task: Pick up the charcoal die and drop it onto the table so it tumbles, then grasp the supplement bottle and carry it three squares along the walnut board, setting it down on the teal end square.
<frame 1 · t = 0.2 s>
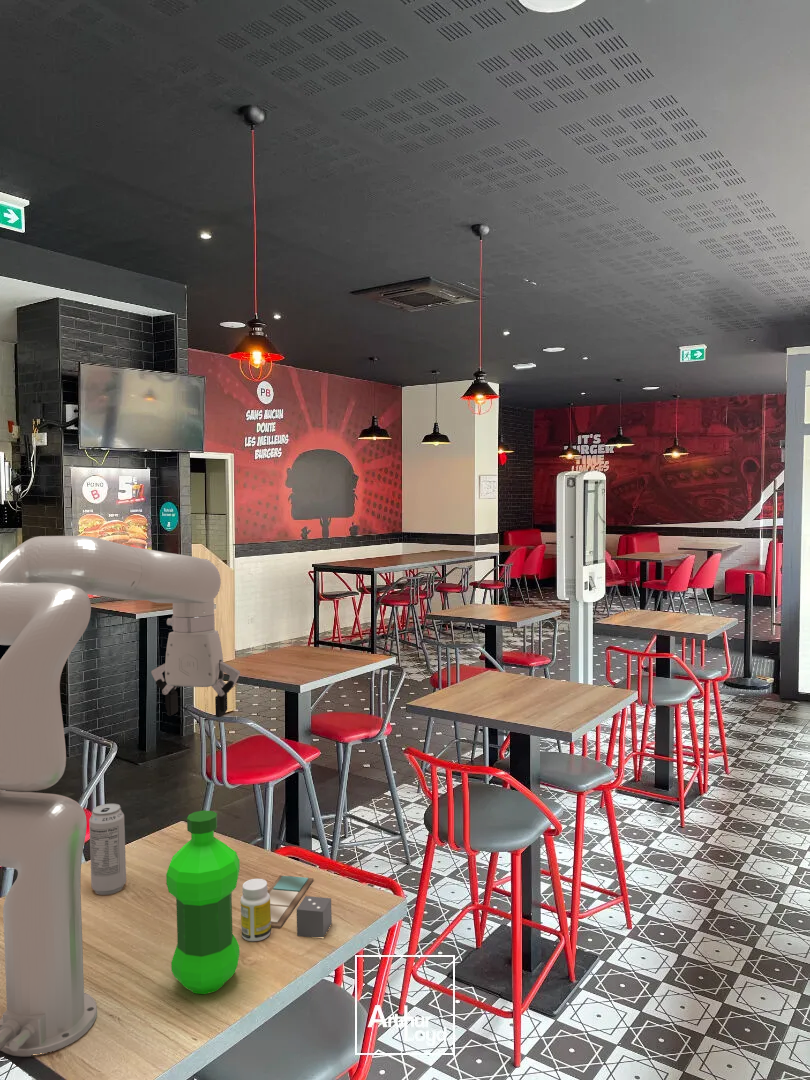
hand: (196, 714, 150), 31 cm above the table, fingers open, 9 cm apart
supplement bottle: (256, 935, 130), on the table
plastic bottle: (206, 984, 117), on the table
energy drink can: (109, 889, 147), on the table
board: (280, 901, 141), on the table
die: (314, 930, 131), on the table
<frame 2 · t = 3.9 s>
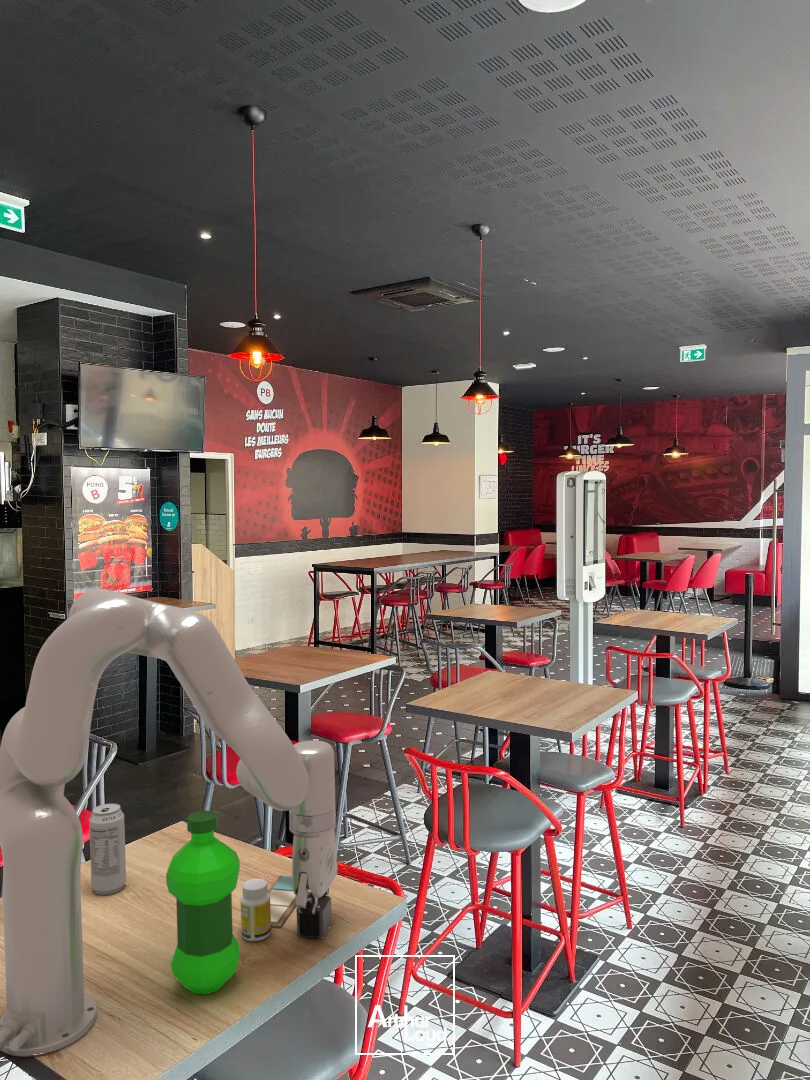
hand: (314, 926, 131), 1 cm above the table, fingers closed on die, 4 cm apart
die: (314, 929, 131), on the table, touching gripper
everything else where it was.
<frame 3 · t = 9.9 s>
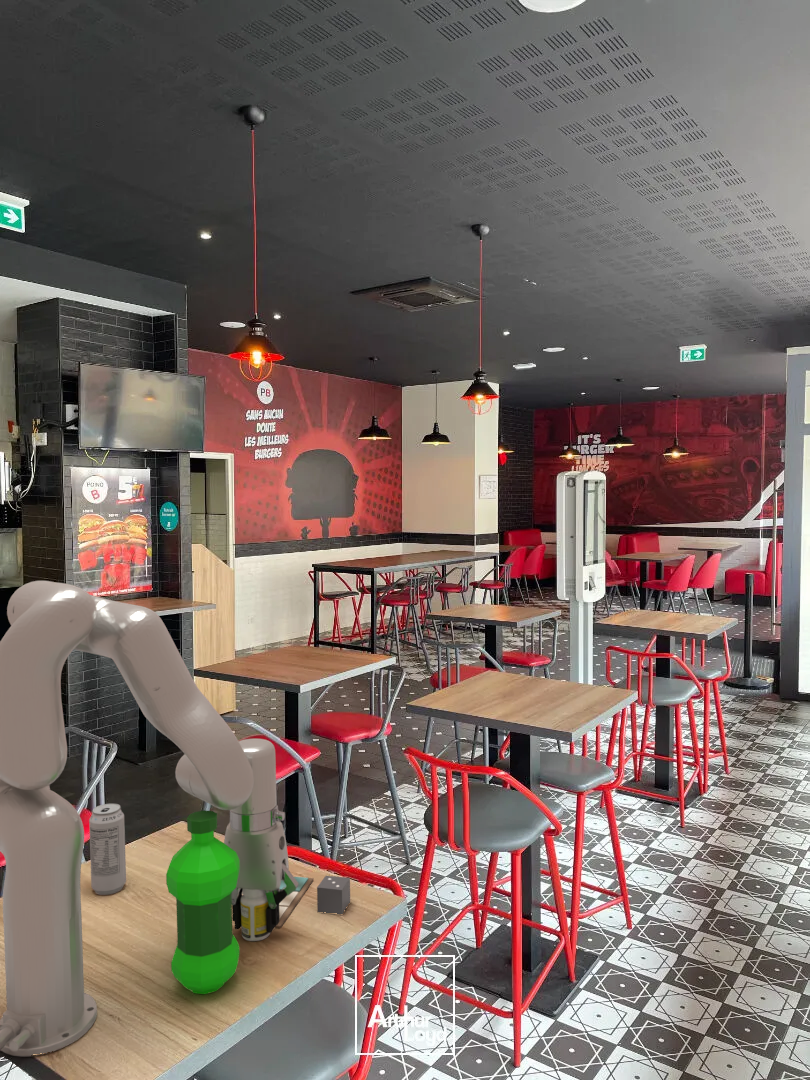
hand: (256, 925, 130), 1 cm above the table, fingers closed on supplement bottle, 4 cm apart
supplement bottle: (256, 935, 130), on the table, touching gripper
die: (334, 907, 139), on the table
everything else where it was.
when the fingers open (3 cm above the table, at t = 14.8 s): supplement bottle drops 1 cm, resting on board.
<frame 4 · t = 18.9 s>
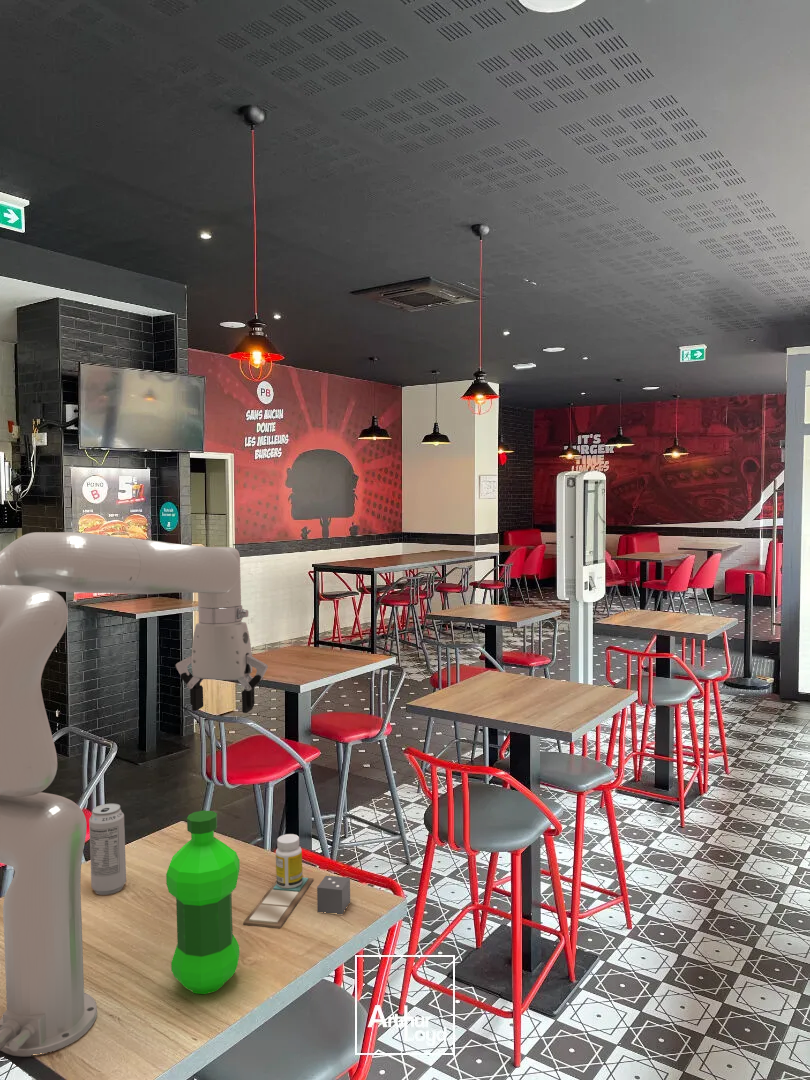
hand: (222, 710, 144), 33 cm above the table, fingers open, 9 cm apart
supplement bottle: (289, 884, 146), resting on board
everything else where it was.
at the end: supplement bottle 0.3 cm from the target spot, point 0.5 cm above the table; supplement bottle tilted 0°; die moved 7.7 cm from its start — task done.
